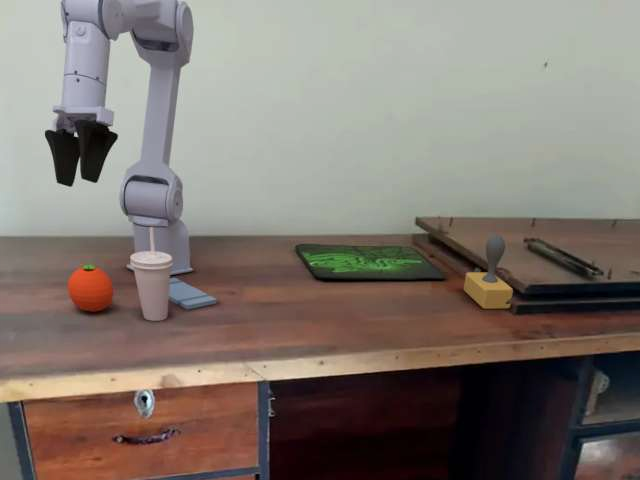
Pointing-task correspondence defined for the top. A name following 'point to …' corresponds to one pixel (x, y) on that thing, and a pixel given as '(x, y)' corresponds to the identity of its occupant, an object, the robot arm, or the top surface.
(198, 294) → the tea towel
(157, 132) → the robot arm
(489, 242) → the rubber stamp
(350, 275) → the mouse mat
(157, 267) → the smoothie
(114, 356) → the top surface
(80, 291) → the clementine
